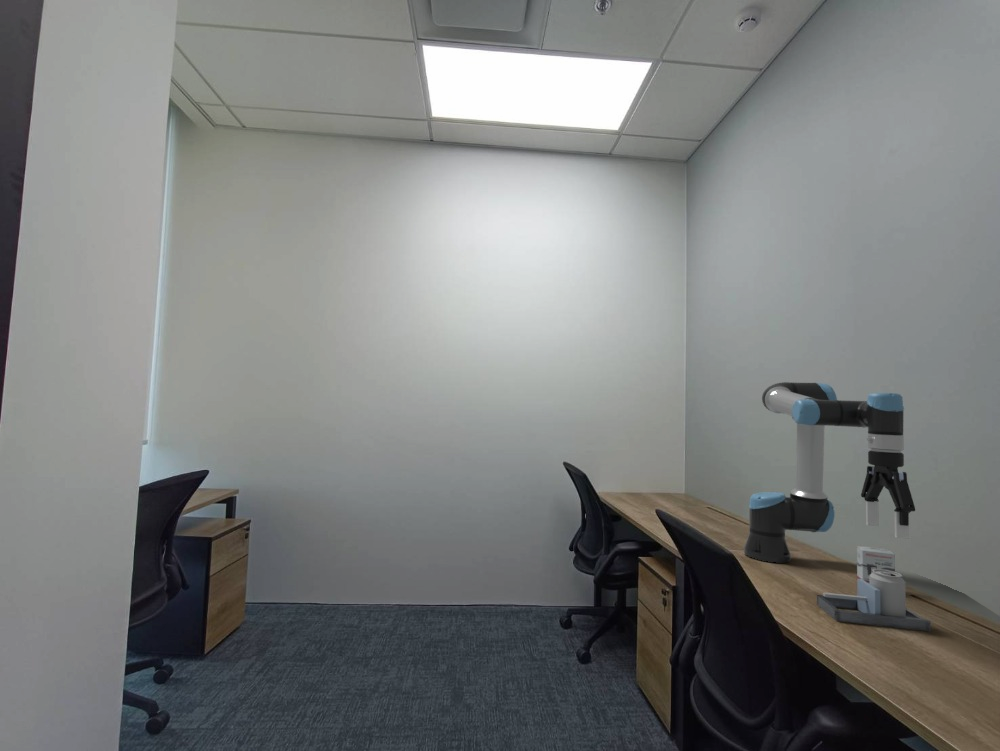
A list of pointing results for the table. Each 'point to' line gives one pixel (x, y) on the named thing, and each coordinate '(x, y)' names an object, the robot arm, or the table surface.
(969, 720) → the table surface
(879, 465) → the robot arm
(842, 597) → the pusher
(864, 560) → the ink box
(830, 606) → the frame
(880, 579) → the can
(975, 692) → the table surface
